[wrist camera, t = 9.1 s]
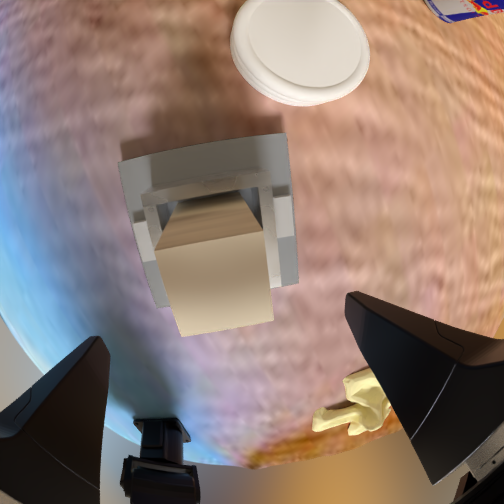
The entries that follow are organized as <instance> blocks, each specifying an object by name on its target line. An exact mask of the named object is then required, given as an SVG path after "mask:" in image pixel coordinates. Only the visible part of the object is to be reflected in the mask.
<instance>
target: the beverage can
mask: <svg viewBox="0 0 504 504" xmlns="http://www.w3.org/2000/svg"><path fill="white" fill-rule="evenodd" d="M424 1H425V3H426V5H427V6H428V8H429V9H430V10H431V11H432V12H433V13H434V14H435V15H436V16H437V17H438V18H440V19H441V20H443V21H445V22H447V23H453V22H457V21H461V20H465V19H469V18H474V17H479V16H484V15H489V14H495V13H502V12H504V0H424Z"/></svg>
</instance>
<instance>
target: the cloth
mask: <svg viewBox="0 0 504 504" xmlns="http://www.w3.org/2000/svg"><path fill="white" fill-rule="evenodd" d="M342 382H343V383H344V385H345V392H346V397H347V399H348V400H350V401H351V402H357V403H356V404H354V405H352V406H349V407H347V408H343V409H337V410H327V409H326V408H323V407H322V408H319V409H317V410H316V411H315V413H314V415H313V423H312V430H313V431H315V432H318V431H322V430H325V429H328V428H331V427H334V426H337V425H340V424H343V423H348V422H350V426H349V428H348V432H349V433H348V435H357V434H360V433H362V432H364V431H366V430H369V431H374V430H377V429H378V428H380V427H381V426H382V425H383V422H384V419H385V418H386V417H387V416H388V414H389V412H390V410H391V409H388V408H389V407H390V406H391V404H390V402H389V400H388V398H387V397H386V395H385V393H384V391H383V389H382V388H381V386H380V384H379V382H378V381H377V379H376V377H375V375H374V374H373V372H372V370H371V368H368V369H365V370H362V371H359V372H357V373H354V374H351V375H349V376H347V377H346V378H344V380H343V381H342Z"/></svg>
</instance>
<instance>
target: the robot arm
mask: <svg viewBox="0 0 504 504" xmlns="http://www.w3.org/2000/svg"><path fill="white" fill-rule="evenodd" d="M345 317H346V320H347V322H348V324H349V326H350V329H351V331H352V333H353V335H354V338H355V340H356V342H357V345H358V347H359V349H360V351H361V353H362V355H363V356H364V358H365V360H366V361H367V363H368V365H369V367H370V368H371V370H372V372H373V374H374V375H375V377H376V379H377V381H378V382H379V384H380V386H381V388H382V389H383V391H384V393H385V395H386V397H387V398H388V400H389V402H390V404H391V406H392V408H393V409H394V411H395V413H396V415H397V417H398V419H399V420H400V422H401V424H402V426H403V428H404V430H405V432H406V434H407V436H408V437H409V439H410V440H411V444H412V446H413V447H414V449H415V451H416V453H417V455H418V457H419V459H420V461H421V463H422V465H423V467H424V469H425V471H426V473H427V475H428V478H429V480H430V482H431V483H432V485H435V484H437V483H438V482H440V481H441V480H443V479H444V478H446V477H447V476H448V475H450V474H451V473H453V472H454V471H456V470H457V469H458V468H460V467H461V466H462V465H464V464H466V465H467V467H468V468H469V470H470V471H469V472H468V473H466V474H465V475H464V476H463V477H461V479H460V482H459V486H458V489H457V492H456V495H455V498H454V501H453V502H452V503H450V504H504V339H494V338H490V337H487V336H483V335H479V334H476V333H472V332H469V331H465V330H462V329H459V328H455V327H452V326H450V325H447V324H444V323H441V322H439V321H436V320H435V321H434V320H433V319H431V318H428V317H425V316H423V315H420V314H417V313H415V312H412V311H409V310H407V309H404V308H401V307H399V306H396V305H393V304H391V303H388V302H385V301H383V300H380V299H378V298H375V297H372V296H370V295H367V294H364V293H362V292H359V291H354V292H350V293H347V294H346V299H345ZM109 370H110V353H109V351H108V349H107V347H106V345H105V343H104V342H103V340H102V338H101V337H100V336H91V337H89V338H88V339H87V340H85V341H84V342H83V343H82V344H80V345H79V346H78V347H77V348H76V349H74V350H73V351H72V352H71V353H70V354H68V355H67V356H66V357H65V358H64V359H63V360H61V361H60V362H59V363H58V364H57V365H56V366H54V367H53V368H52V369H51V370H50V371H49V372H47V373H46V374H45V375H44V376H43V377H42V378H40V380H38V381H37V382H36V383H35V384H34V385H33V386H32V388H31V387H30V388H29V389H28V390H27V391H26V392H25V393H23V394H22V395H21V396H20V397H19V398H18V399H16V400H15V401H14V402H13V403H11V405H9V406H8V407H6V408H5V409H4V410H3V411H2V412H0V504H100V490H99V489H100V466H101V450H102V438H103V428H104V419H105V411H106V404H107V397H108V387H109ZM133 424H134V425H135V426H136V427H137V429H138V430H139V431H140V432H141V433H142V438H141V449H140V458H138V457H134V456H132V455H129V457H128V458H124V462H123V470H122V474H121V480H120V485H121V487H122V488H123V489H124V491H125V496H126V497H129V498H130V504H200V486H199V480H198V474H197V468H196V466H195V465H192V466H189V465H183V443H186V442H191V438H190V437H189V435H188V434H187V432H186V431H185V429H184V428H183V426H182V425H181V423H180V422H179V420H178V419H175V418H171V419H147V420H134V421H133Z"/></svg>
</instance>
